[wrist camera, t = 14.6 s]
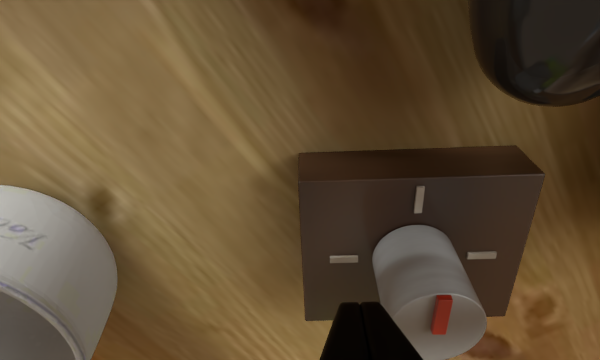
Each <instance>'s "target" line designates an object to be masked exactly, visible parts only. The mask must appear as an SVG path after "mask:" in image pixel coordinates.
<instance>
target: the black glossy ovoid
mask: <svg viewBox="0 0 600 360" xmlns="http://www.w3.org/2000/svg"><path fill="white" fill-rule="evenodd" d="M468 9H469V22H470V30H471V37H472V42H473V47H474V52H475V55H476V58H477V61H478V64H479V66H480V68H481V70H482V71H483V73H484V74H485V76H486V77H487V78H488V79H489V81H490V82H491V83H492V84H493V85H494V86H496V87H497V88H498V89H499V90H500V91H502V92H503V93H505V94H506V95H508V96H510V97H512V98H514V99H516V100H518V101H521V102H524V103H528V104H532V105H537V106H547V107H560V106H570V105H575V104H579V103H583V102H586V101H589V100H591V99H594V98H596V97H599V96H600V0H468Z"/></svg>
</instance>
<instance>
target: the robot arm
mask: <svg viewBox="0 0 600 360" xmlns="http://www.w3.org/2000/svg"><path fill="white" fill-rule="evenodd" d="M320 360H423V358H422V357H421V356H420V354H419V353H418V352H417V351H416V349H415V348H414V347H413V345H412V344H411V343H410V341H409V340H408V339H407V337H406V336H405V335H404V333H403V332H402V331H401V329H400V328H399V327H398V326H397V324H396V323H395V322H394V320H393V319H392V318H391V316H390V315H389V314H388V312H387V311H386V310H385V308H384V307H383V306H382V305H381V303H379V302H377V301H371V302H361V303H360V305H359V303H358V302H342V303H340V304H339V307H338V309H337V312H336V315H335V318H334V321H333V323H332V326H331V329H330V332H329V335H328V337H327V340H326V343H325V346H324V349H323V352H322V354H321V357H320Z"/></svg>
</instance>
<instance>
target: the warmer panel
mask: <svg viewBox="0 0 600 360" xmlns="http://www.w3.org/2000/svg"><path fill="white" fill-rule="evenodd" d="M544 177H545V173H544V172H543V171H542V170H541V169H540V168H539V167H538V166H537V165H535V164H534V163H533V162H532V161H531V160H530V159H529V158H528V157H527V156H526V155H525V154H524V153H523V152H522V151H521V150H520V149H519V148H518V147H517V146H489V147H460V148H432V149H403V150H375V151H346V152H318V153H299V164H298V191H299V210H300V229H301V249H302V268H303V287H304V306H305V320H306V321H324V320H334V318H335V315H336V312H337V309H338V307H339V304H340V303H342V302H358V303H359V305H360V303H361V302H371V301H377V302H379V303H381V302H380V297H379V293H378V288H377V283H376V278H375V274H374V269H373V264H372V257H373V252H374V250H375V248H376V246H377V244H378V243H379V242H380V240H381V239H382V238H383V237H385V236H386V235H387V234H389V233H390V232H392V231H394V230H396V229H398V228H401V227H405V226H410V225H425V226H430V227H433V228H436V229H438V230H440V231H441V232H443V233H444V234H445V235H446V236H447V237H448V238H449V239H450V241H451V243H452V245H453V247H454V249H455V251H456V253H457V255H458V257H459V259H460V262H461V264H462V266H463V268H464V270H465V272H466V274H467V276H468V278H469V280H470V282H471V284H472V286H473V288H474V291H475V293H476V295H477V297H478V299H479V301H480V303H481V305H482V307H483V309H484V311H485V314H486V317H492V316H505V314H506V311H507V307H508V304H509V300H510V296H511V293H512V289H513V286H514V282H515V279H516V275H517V272H518V268H519V265H520V261H521V258H522V254H523V251H524V247H525V244H526V240H527V237H528V233H529V230H530V226H531V222H532V219H533V215H534V212H535V208H536V205H537V201H538V198H539V194H540V191H541V187H542V184H543V180H544Z"/></svg>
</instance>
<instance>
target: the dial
mask: <svg viewBox="0 0 600 360" xmlns="http://www.w3.org/2000/svg"><path fill="white" fill-rule="evenodd" d="M372 264H373V269H374V274H375V278H376V283H377V288H378V293H379V297H380V302H381V305H382V306H383V307H384V308H385V310H386V311H387V312H388V314H389V315H390V316H391V318H392V319H393V320H394V322H395V323H396V324H397V326H398V327H399V328H400V329H401V331H402V332H403V333H404V335H405V336H406V337H407V339H408V340H409V341H410V343H411V344H412V345H413V347H414V348H415V349H416V351H417V352H418V353H419V354H420V356H421V357H422V358H423V360H444V359H449V358H452V357H455V356H458V355H460V354H462V353H464V352H466V351H468V350H469V349H471V348H472V347H473V346H474V345H476V344H477V343H478V342H479V340H480V339H481V338H482V336H483V334H484V332H485V330H486V325H487V318H486V314H485V311H484V309H483V307H482V305H481V303H480V301H479V299H478V297H477V295H476V293H475V291H474V288H473V286H472V284H471V282H470V280H469V278H468V276H467V274H466V272H465V270H464V268H463V266H462V264H461V262H460V259H459V257H458V255H457V253H456V251H455V249H454V247H453V245H452V243H451V241H450V239H449V238H448V237H447V236H446V235H445V234H444V233H443V232H441V231H440V230H438V229H436V228H433V227H430V226H425V225H410V226H405V227H401V228H398V229H396V230H394V231H392V232H390V233H389V234H387V235H386V236H385V237H383V238H382V239H381V240H380V242H379V243H378V244H377V246H376V248H375V250H374V252H373V257H372Z"/></svg>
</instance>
